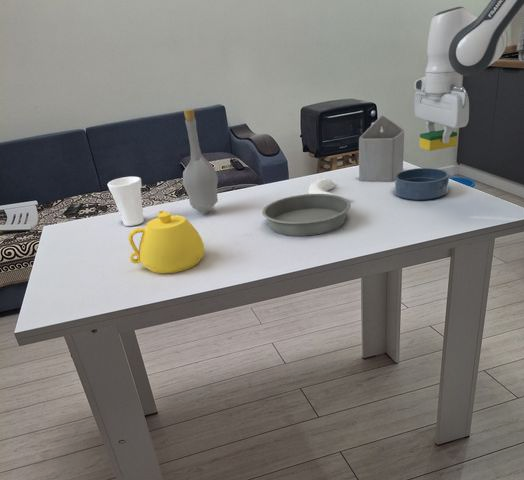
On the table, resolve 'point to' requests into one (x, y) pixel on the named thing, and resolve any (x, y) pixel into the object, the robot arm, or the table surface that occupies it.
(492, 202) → the table surface
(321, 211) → the cake pan
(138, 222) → the cup
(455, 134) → the sponge
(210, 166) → the bottle
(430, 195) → the bowl
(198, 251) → the teapot
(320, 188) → the white rounded piece
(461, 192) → the table surface
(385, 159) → the planter
